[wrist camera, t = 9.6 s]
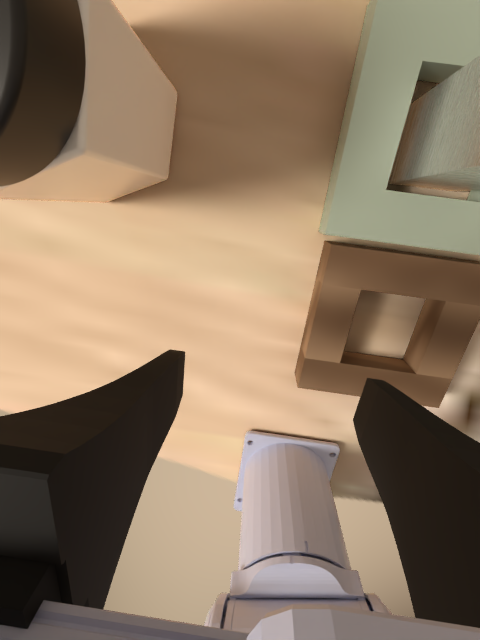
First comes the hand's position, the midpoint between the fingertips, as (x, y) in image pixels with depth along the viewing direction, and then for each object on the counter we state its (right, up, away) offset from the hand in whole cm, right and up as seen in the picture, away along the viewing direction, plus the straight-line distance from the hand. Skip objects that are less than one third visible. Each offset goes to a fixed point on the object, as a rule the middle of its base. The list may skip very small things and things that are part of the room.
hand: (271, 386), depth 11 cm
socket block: (+9, +2, +9) cm, 13 cm away
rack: (+10, +13, +5) cm, 17 cm away
